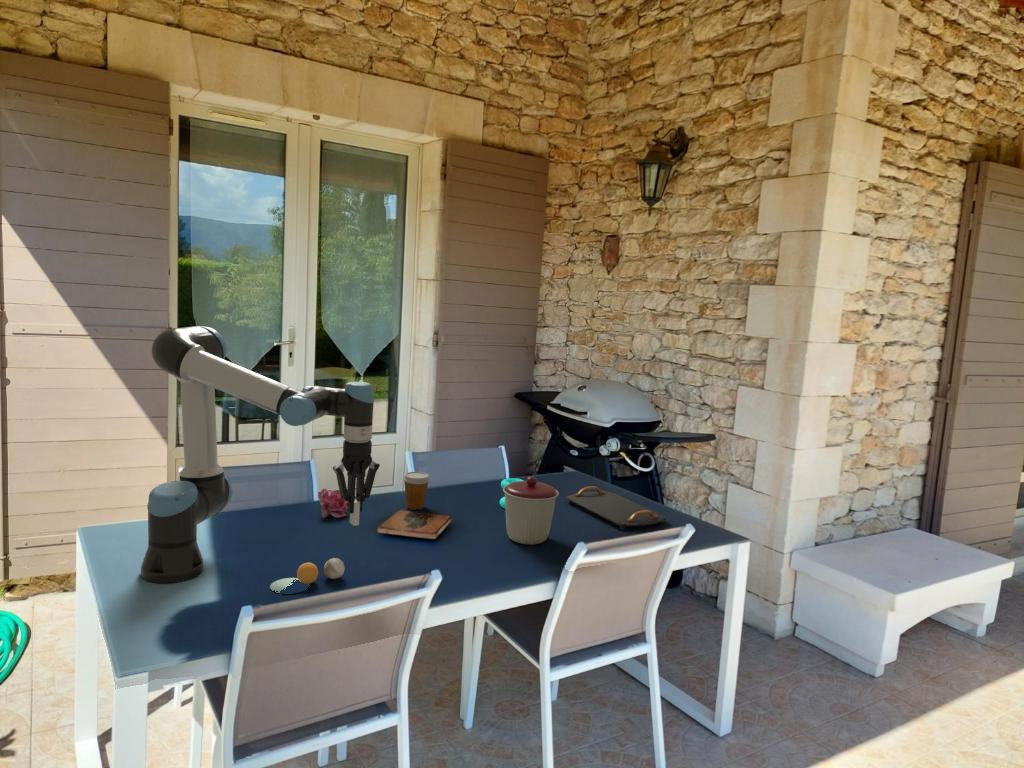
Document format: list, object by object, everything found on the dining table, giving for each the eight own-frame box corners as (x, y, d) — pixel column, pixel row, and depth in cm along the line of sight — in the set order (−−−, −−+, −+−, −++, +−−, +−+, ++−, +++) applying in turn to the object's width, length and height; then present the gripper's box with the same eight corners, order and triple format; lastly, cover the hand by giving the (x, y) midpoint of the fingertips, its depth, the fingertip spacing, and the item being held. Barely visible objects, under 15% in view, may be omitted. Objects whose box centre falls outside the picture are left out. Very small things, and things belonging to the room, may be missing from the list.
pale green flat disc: (264, 583, 188) (264, 582, 188) (301, 575, 194) (301, 575, 194) (277, 598, 180) (277, 597, 180) (315, 589, 186) (315, 589, 186)
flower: (350, 524, 245) (352, 506, 239) (320, 528, 242) (322, 510, 235) (344, 497, 253) (346, 480, 246) (316, 501, 249) (317, 483, 242)
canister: (529, 554, 221) (534, 488, 218) (488, 537, 233) (492, 474, 230) (565, 541, 234) (571, 479, 231) (524, 525, 246) (529, 466, 243)
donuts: (499, 477, 268) (525, 477, 270) (497, 502, 270) (523, 503, 272) (503, 484, 259) (530, 485, 260) (501, 511, 260) (528, 511, 262)
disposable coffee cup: (415, 501, 264) (417, 469, 263) (433, 507, 258) (435, 475, 257) (396, 506, 257) (397, 474, 255) (414, 513, 251) (416, 480, 249)
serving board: (672, 527, 257) (674, 510, 256) (623, 535, 245) (625, 518, 244) (605, 496, 290) (607, 481, 289) (558, 501, 278) (560, 486, 277)
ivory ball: (342, 560, 198) (330, 577, 196) (329, 551, 194) (316, 568, 193) (352, 568, 194) (339, 585, 192) (338, 559, 190) (325, 577, 189)
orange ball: (301, 583, 192) (289, 570, 189) (317, 568, 194) (305, 555, 191) (309, 591, 187) (297, 578, 185) (325, 575, 189) (313, 562, 187)
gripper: (340, 444, 185) (337, 531, 188) (386, 440, 193) (382, 524, 196) (329, 438, 191) (326, 523, 194) (373, 434, 199) (370, 516, 202)
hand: (354, 523), depth 195 cm, fingers closed
